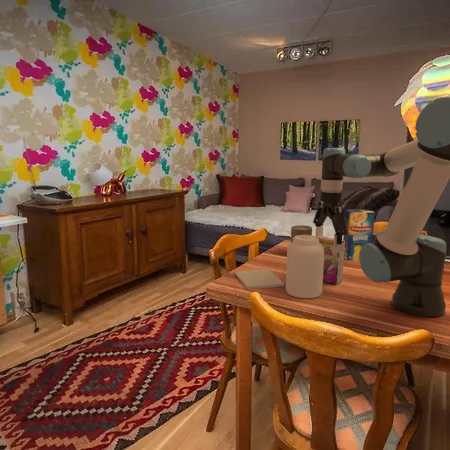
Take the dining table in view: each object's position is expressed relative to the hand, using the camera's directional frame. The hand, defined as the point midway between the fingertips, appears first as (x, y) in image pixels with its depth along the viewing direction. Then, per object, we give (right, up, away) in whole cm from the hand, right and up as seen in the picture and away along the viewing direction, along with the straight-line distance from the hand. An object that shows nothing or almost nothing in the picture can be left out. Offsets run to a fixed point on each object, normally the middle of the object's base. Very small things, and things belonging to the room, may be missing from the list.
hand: (327, 247), depth 139 cm
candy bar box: (0, -13, +2) cm, 13 cm away
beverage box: (+22, -7, +31) cm, 38 cm away
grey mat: (-26, -12, +2) cm, 29 cm away
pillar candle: (-3, -6, +35) cm, 35 cm away
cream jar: (-11, -15, -10) cm, 21 cm away
